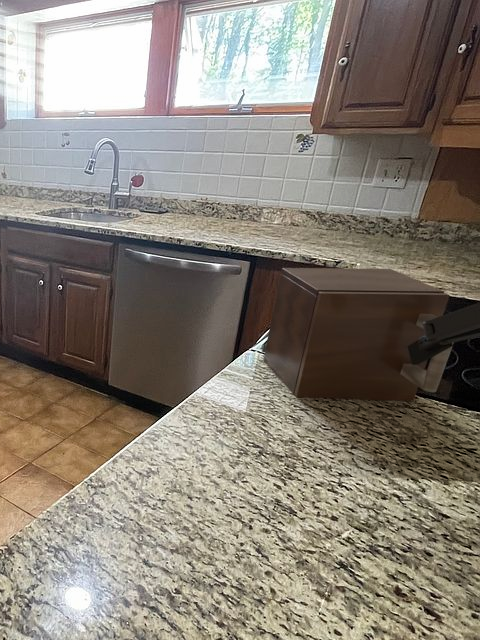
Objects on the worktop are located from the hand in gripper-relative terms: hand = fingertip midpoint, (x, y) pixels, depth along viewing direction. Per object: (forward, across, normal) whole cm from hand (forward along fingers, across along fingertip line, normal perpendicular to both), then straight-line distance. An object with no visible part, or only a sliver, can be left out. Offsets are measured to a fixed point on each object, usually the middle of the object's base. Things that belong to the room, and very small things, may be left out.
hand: (466, 356), depth 71 cm
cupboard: (+21, -6, +4) cm, 23 cm away
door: (+14, -6, -3) cm, 15 cm away
